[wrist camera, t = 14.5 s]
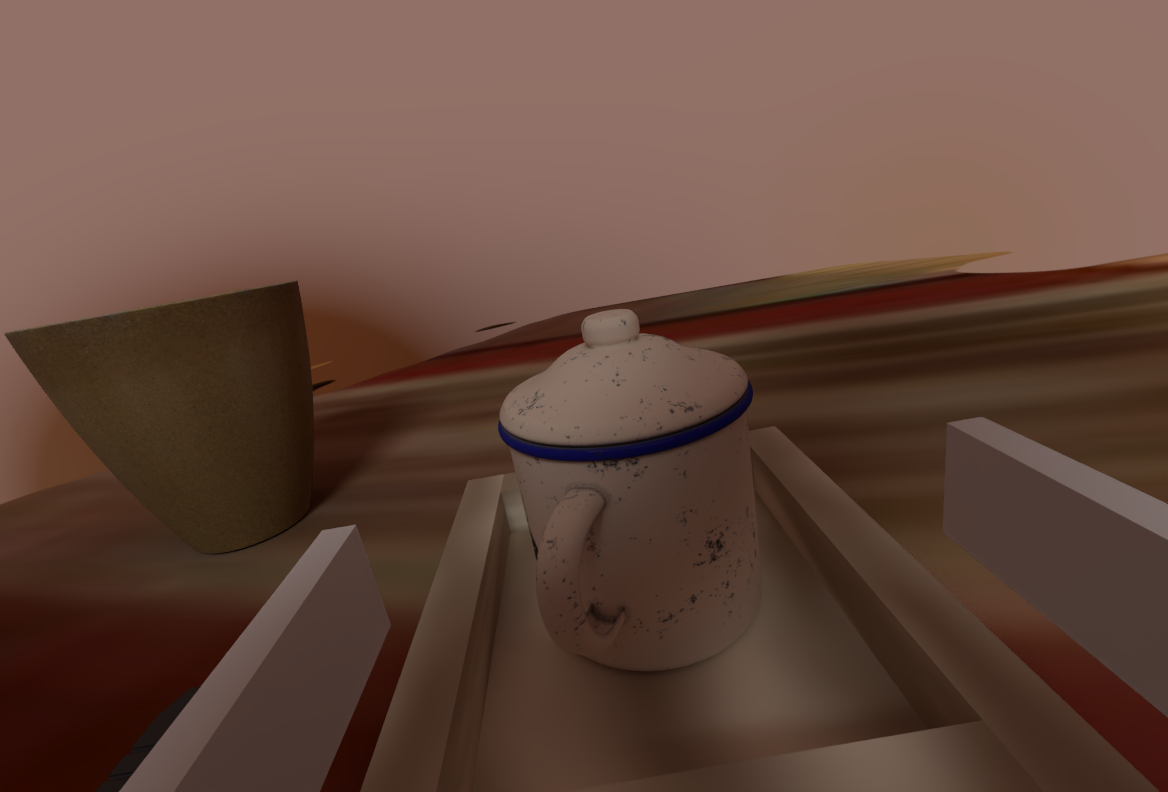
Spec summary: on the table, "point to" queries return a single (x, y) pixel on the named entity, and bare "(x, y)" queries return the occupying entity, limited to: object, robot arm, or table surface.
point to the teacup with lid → (638, 496)
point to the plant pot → (192, 407)
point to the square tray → (731, 675)
